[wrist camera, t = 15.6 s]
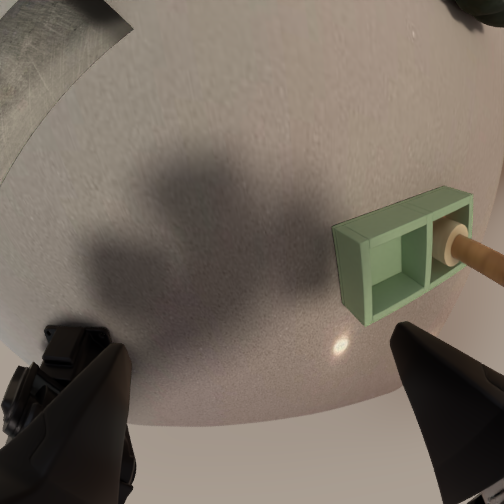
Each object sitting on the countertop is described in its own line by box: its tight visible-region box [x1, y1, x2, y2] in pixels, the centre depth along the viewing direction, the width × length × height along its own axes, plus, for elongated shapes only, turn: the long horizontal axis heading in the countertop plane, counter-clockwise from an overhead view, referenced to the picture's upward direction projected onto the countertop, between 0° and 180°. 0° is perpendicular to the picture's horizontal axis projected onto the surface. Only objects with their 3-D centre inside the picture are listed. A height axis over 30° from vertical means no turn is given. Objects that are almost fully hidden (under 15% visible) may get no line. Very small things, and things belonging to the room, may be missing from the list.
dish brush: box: [432, 216, 504, 287], centre depth 17 cm, size 4×4×13 cm
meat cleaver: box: [0, 0, 133, 185], centre depth 8 cm, size 34×11×4 cm, turn 131°
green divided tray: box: [332, 186, 473, 327], centre depth 21 cm, size 14×8×4 cm, turn 106°
